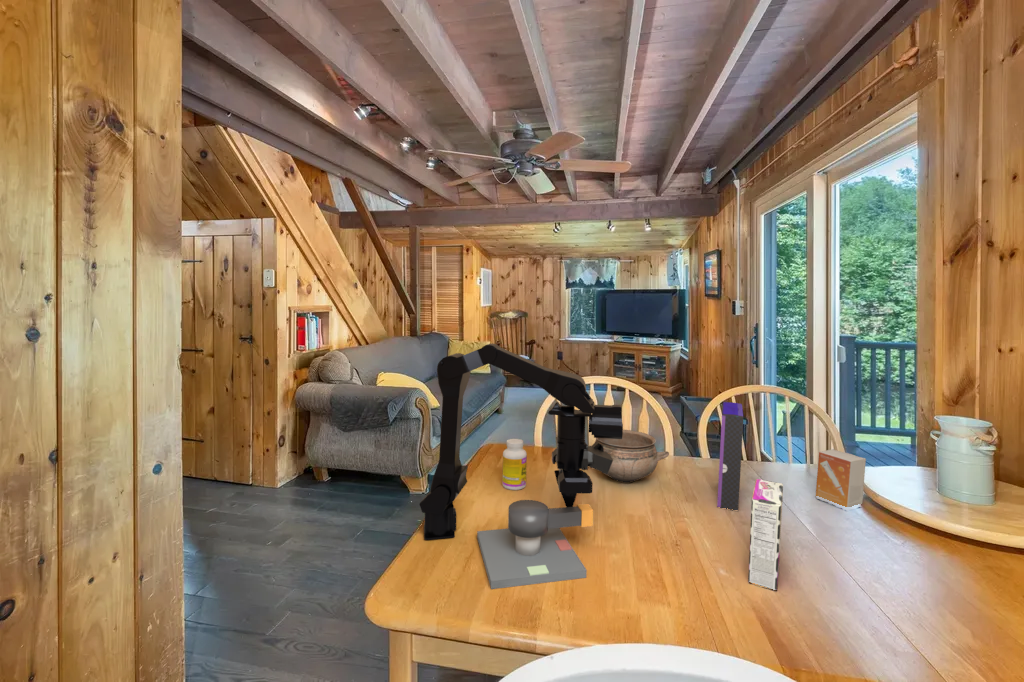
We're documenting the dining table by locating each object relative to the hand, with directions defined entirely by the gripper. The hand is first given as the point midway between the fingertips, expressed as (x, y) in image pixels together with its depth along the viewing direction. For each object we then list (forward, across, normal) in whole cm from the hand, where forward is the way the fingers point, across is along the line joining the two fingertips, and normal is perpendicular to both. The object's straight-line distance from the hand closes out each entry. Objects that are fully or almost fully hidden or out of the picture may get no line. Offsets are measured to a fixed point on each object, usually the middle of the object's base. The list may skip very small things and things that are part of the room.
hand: (569, 508), depth 94 cm
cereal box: (+8, +26, -46) cm, 54 cm away
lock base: (+8, -4, +9) cm, 13 cm away
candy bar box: (+8, -9, -36) cm, 38 cm away
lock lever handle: (+2, -3, +4) cm, 6 cm away
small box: (+8, +23, -73) cm, 77 cm away
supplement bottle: (+8, +31, +11) cm, 34 cm away
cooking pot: (+8, +38, -21) cm, 44 cm away
